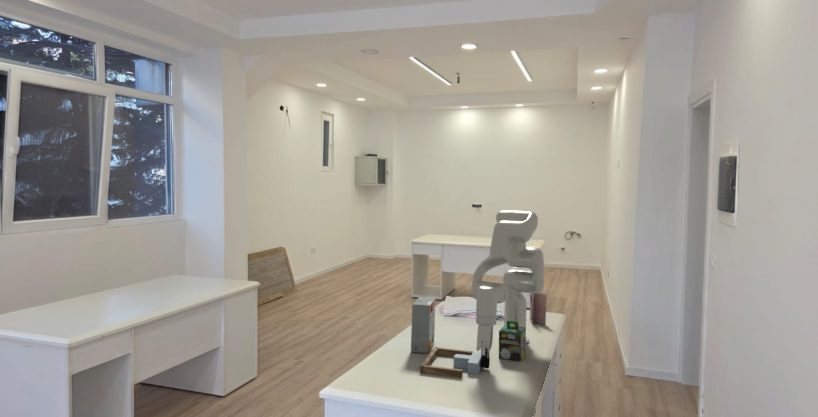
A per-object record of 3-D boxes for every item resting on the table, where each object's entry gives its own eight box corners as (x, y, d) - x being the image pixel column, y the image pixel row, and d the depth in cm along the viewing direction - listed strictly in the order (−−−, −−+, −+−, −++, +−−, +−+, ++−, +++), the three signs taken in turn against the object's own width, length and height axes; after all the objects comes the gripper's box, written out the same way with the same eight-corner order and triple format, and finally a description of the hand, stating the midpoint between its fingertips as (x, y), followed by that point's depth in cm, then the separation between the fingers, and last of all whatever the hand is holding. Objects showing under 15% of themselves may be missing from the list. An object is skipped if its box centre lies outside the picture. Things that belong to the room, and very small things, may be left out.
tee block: (457, 360, 208) (457, 350, 207) (482, 363, 205) (483, 353, 205) (451, 371, 196) (451, 360, 196) (478, 374, 193) (478, 363, 193)
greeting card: (527, 319, 271) (528, 290, 270) (542, 319, 271) (543, 291, 270) (530, 325, 260) (531, 295, 259) (546, 326, 259) (547, 295, 258)
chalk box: (525, 355, 216) (527, 319, 215) (520, 362, 208) (521, 324, 207) (503, 351, 220) (504, 316, 219) (497, 358, 211) (498, 321, 211)
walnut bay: (434, 353, 216) (434, 347, 216) (472, 357, 212) (472, 351, 211) (420, 372, 194) (420, 366, 194) (461, 377, 190) (461, 371, 189)
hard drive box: (428, 354, 215) (429, 305, 214) (410, 352, 216) (411, 304, 215) (434, 342, 230) (435, 297, 229) (417, 341, 231) (418, 296, 230)
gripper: (479, 313, 206) (477, 359, 207) (473, 323, 191) (471, 373, 192) (498, 315, 204) (497, 362, 205) (493, 325, 189) (492, 375, 190)
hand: (484, 367), depth 199 cm, fingers closed
